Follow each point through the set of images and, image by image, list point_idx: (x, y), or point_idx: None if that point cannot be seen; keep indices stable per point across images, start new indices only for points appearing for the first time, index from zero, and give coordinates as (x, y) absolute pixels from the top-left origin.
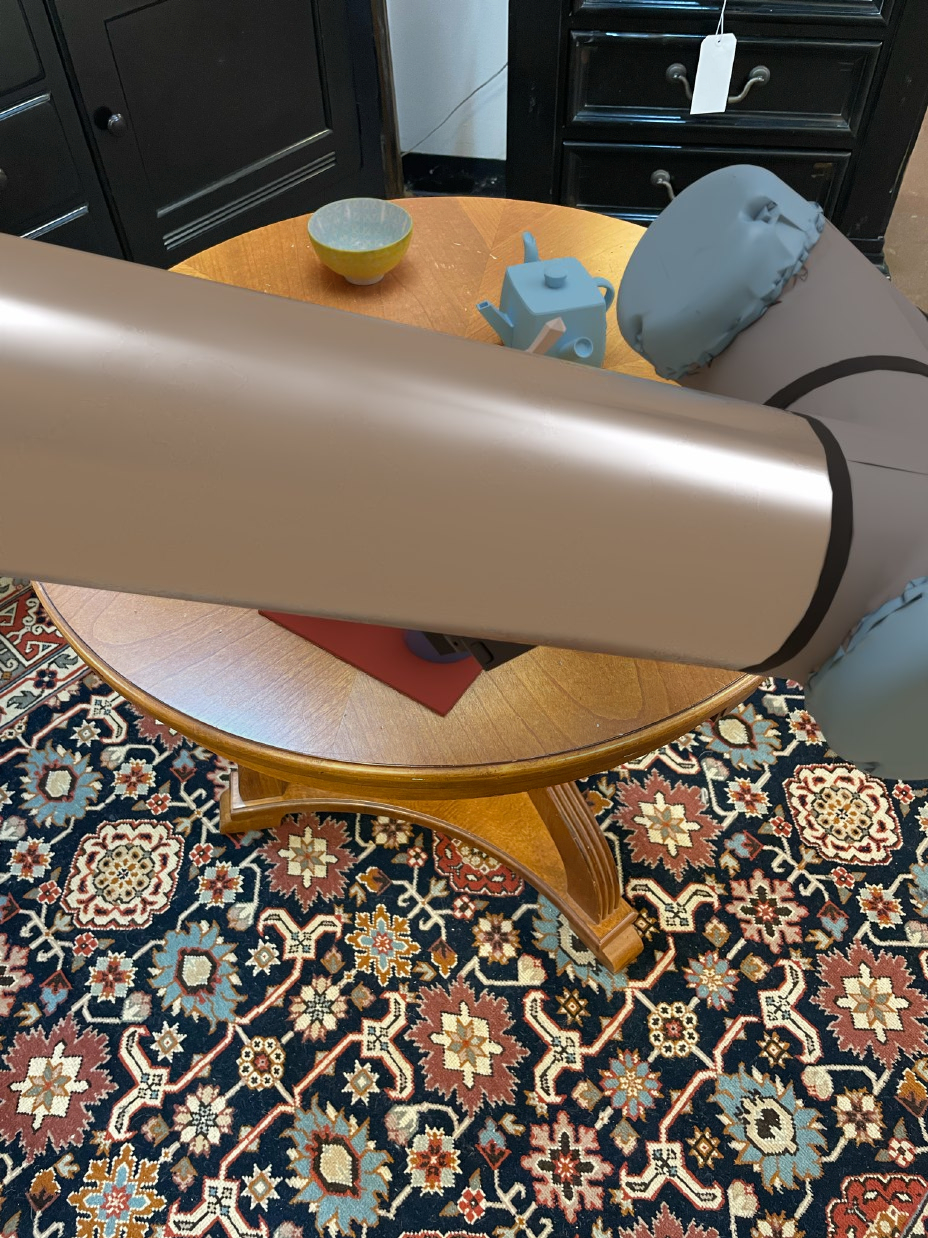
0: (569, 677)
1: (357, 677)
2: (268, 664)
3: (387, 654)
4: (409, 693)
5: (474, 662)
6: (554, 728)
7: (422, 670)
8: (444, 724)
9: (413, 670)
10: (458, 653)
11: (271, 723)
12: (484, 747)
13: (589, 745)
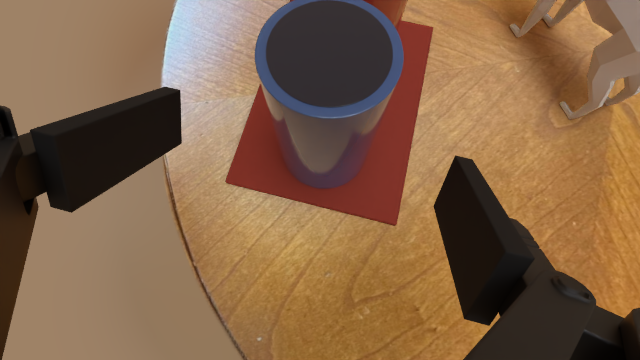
0: (312, 289)
1: (249, 97)
2: (241, 28)
3: None
4: (240, 143)
5: (294, 188)
6: (242, 292)
7: (269, 145)
8: (219, 185)
9: (266, 137)
10: (289, 169)
11: (184, 53)
12: (202, 230)
13: (231, 336)
